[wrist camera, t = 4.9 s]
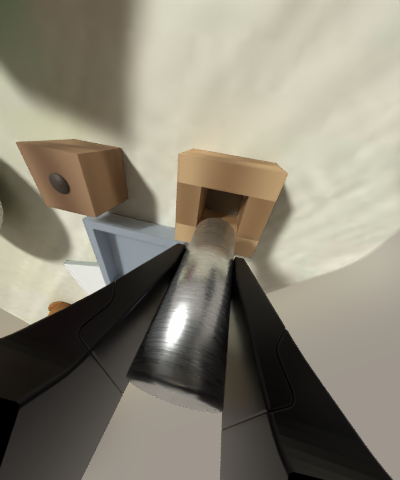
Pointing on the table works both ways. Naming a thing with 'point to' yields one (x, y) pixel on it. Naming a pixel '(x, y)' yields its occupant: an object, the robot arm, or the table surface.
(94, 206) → the block
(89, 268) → the external hard drive
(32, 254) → the table surface
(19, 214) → the table surface
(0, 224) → the cereal bowl
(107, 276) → the tray
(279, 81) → the table surface
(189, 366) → the cylinder
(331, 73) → the table surface
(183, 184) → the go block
